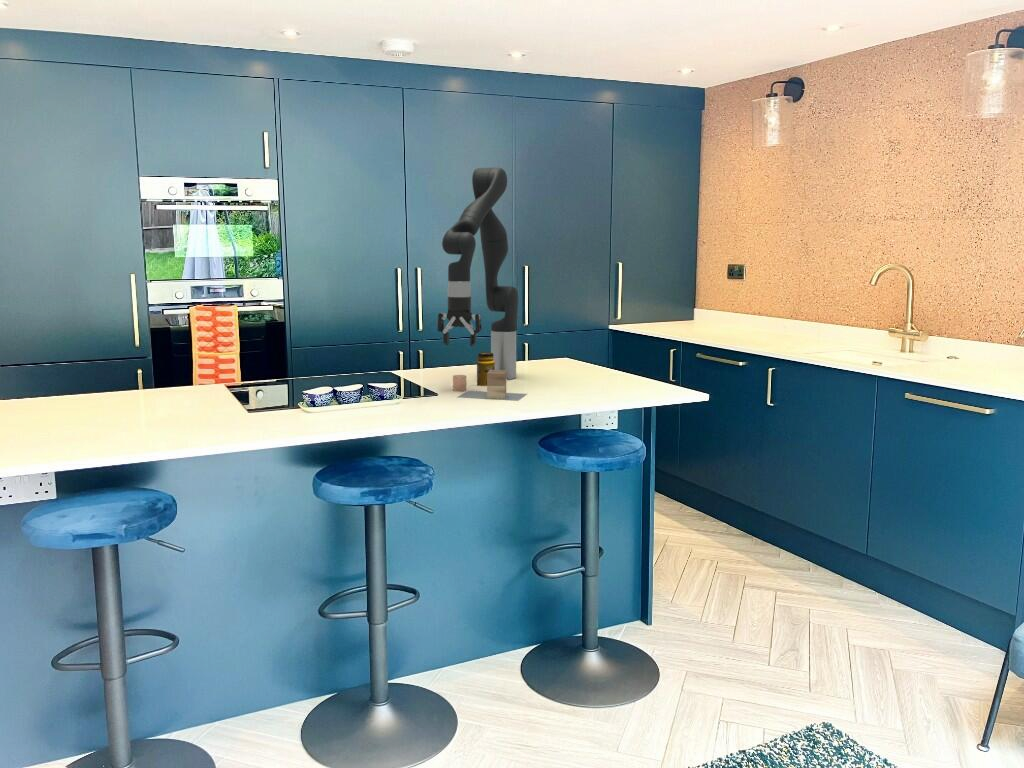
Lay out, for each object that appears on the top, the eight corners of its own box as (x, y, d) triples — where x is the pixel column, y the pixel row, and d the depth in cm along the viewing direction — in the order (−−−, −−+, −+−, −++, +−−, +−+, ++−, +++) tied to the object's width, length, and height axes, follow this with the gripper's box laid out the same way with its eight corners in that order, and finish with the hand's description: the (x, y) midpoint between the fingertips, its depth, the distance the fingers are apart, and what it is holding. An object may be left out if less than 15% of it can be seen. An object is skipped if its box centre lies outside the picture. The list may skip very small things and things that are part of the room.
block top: (489, 382, 265) (489, 370, 264) (506, 383, 265) (506, 370, 264) (487, 385, 260) (487, 373, 259) (504, 386, 259) (504, 373, 258)
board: (468, 394, 274) (468, 390, 273) (527, 397, 268) (527, 393, 268) (456, 401, 262) (456, 397, 262) (518, 404, 257) (518, 400, 257)
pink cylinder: (455, 392, 277) (455, 374, 276) (468, 393, 276) (468, 375, 275) (451, 394, 273) (451, 376, 272) (464, 395, 272) (463, 377, 271)
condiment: (496, 389, 283) (496, 354, 281) (471, 390, 282) (471, 354, 280) (494, 385, 290) (494, 351, 288) (469, 386, 289) (469, 351, 287)
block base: (489, 395, 266) (489, 382, 265) (506, 395, 265) (506, 383, 265) (487, 398, 260) (487, 385, 260) (504, 398, 260) (504, 386, 259)
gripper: (484, 295, 271) (484, 344, 273) (442, 294, 274) (442, 343, 277) (477, 296, 264) (477, 347, 266) (434, 295, 267) (434, 346, 270)
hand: (459, 345), depth 272 cm, fingers open, 8 cm apart
